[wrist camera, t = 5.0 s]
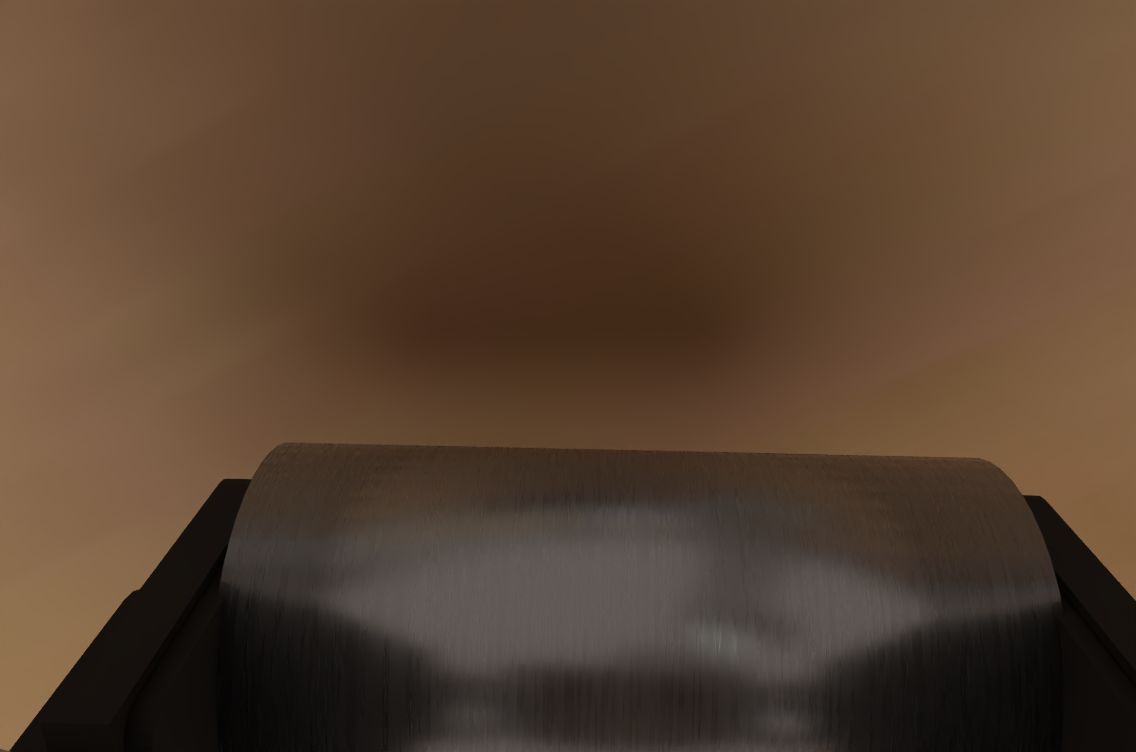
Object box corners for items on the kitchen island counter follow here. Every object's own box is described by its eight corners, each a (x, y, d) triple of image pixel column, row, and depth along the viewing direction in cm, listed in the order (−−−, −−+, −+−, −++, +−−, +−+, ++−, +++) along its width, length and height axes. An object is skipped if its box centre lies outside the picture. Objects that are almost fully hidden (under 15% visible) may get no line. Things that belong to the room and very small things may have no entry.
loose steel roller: (314, 386, 11) (182, 576, 8) (943, 398, 11) (1113, 599, 8) (340, 656, 13) (239, 924, 9) (893, 670, 13) (1017, 949, 9)
